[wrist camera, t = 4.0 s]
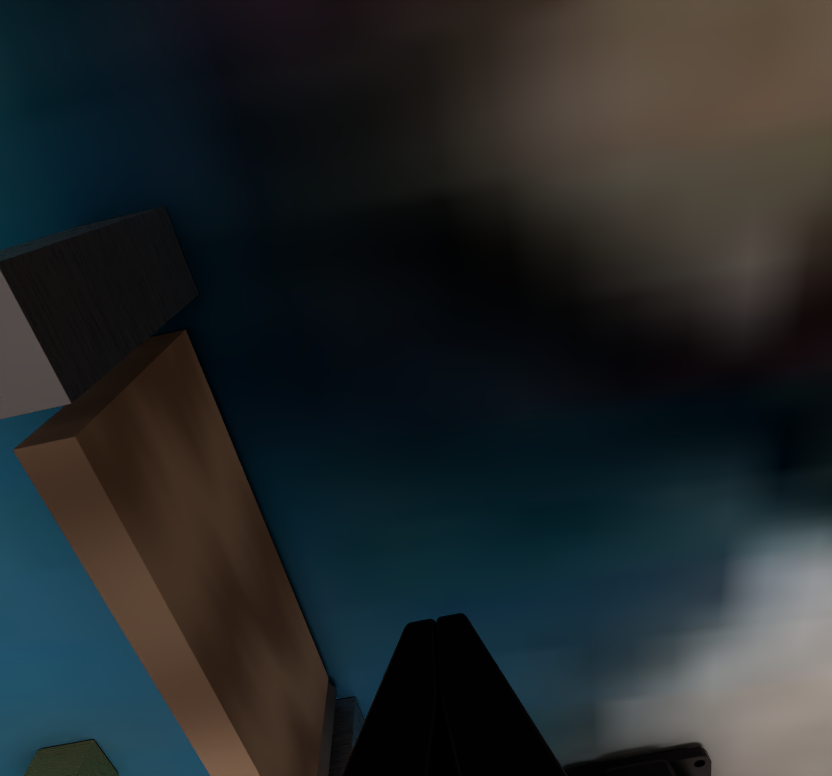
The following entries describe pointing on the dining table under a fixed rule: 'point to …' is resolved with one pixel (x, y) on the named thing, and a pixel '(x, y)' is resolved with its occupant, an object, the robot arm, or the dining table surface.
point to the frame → (97, 362)
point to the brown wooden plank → (187, 561)
